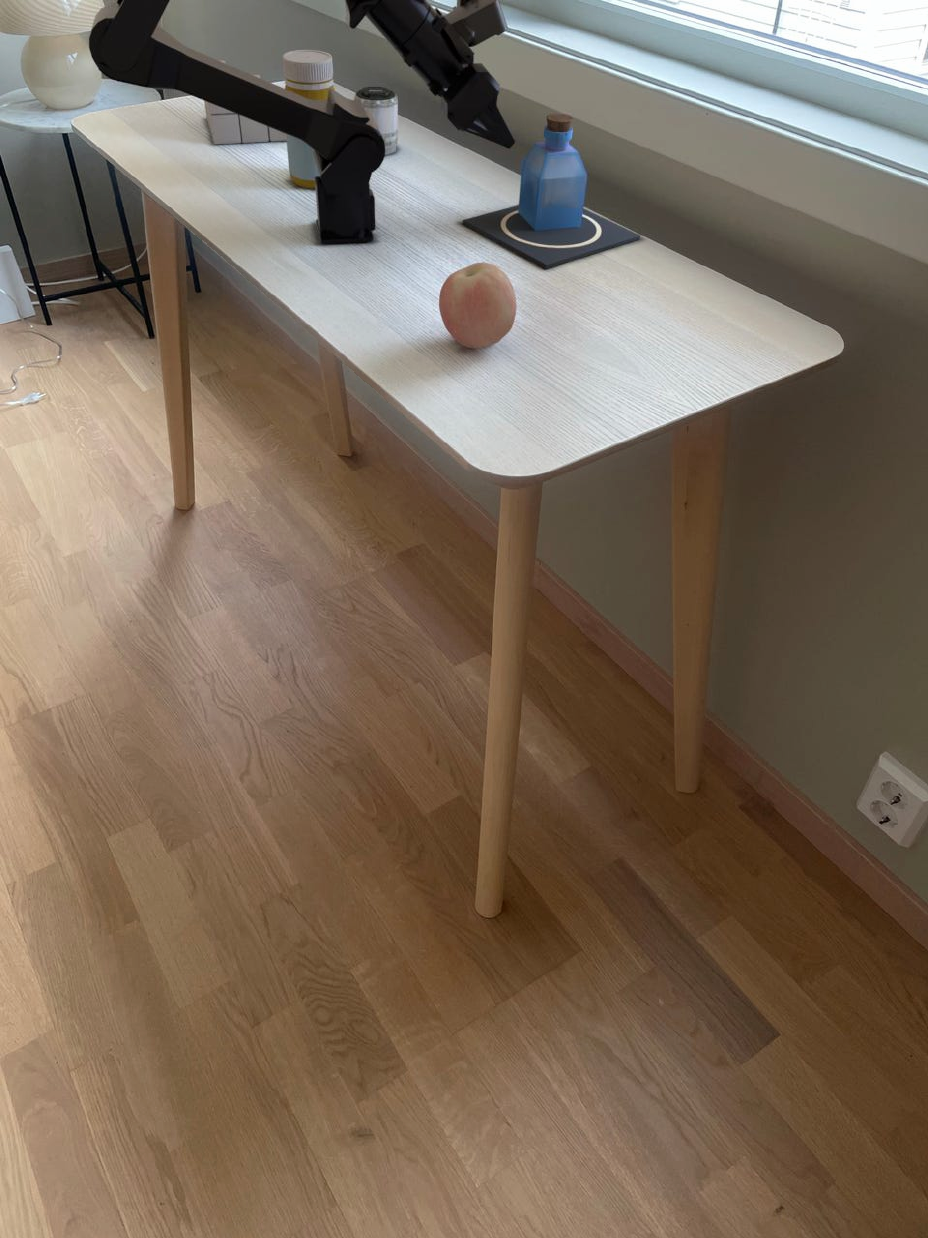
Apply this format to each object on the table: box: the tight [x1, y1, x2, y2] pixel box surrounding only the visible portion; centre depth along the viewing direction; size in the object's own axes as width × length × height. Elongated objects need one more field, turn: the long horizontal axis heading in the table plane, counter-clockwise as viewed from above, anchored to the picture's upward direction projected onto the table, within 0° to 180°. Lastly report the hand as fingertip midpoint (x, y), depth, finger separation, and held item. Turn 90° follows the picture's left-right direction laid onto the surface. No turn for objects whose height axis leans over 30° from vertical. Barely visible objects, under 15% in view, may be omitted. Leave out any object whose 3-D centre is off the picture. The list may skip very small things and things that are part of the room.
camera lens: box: [353, 86, 399, 156], centre depth 134 cm, size 6×6×8 cm
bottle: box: [282, 49, 336, 190], centre depth 121 cm, size 7×7×15 cm
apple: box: [438, 261, 517, 350], centre depth 93 cm, size 8×8×8 cm
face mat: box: [462, 204, 641, 270], centre depth 117 cm, size 16×16×1 cm
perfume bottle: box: [518, 112, 588, 231], centre depth 114 cm, size 6×6×12 cm
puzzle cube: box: [203, 60, 287, 145], centre depth 138 cm, size 12×12×8 cm
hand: (502, 131), depth 110 cm, fingers open, 9 cm apart
